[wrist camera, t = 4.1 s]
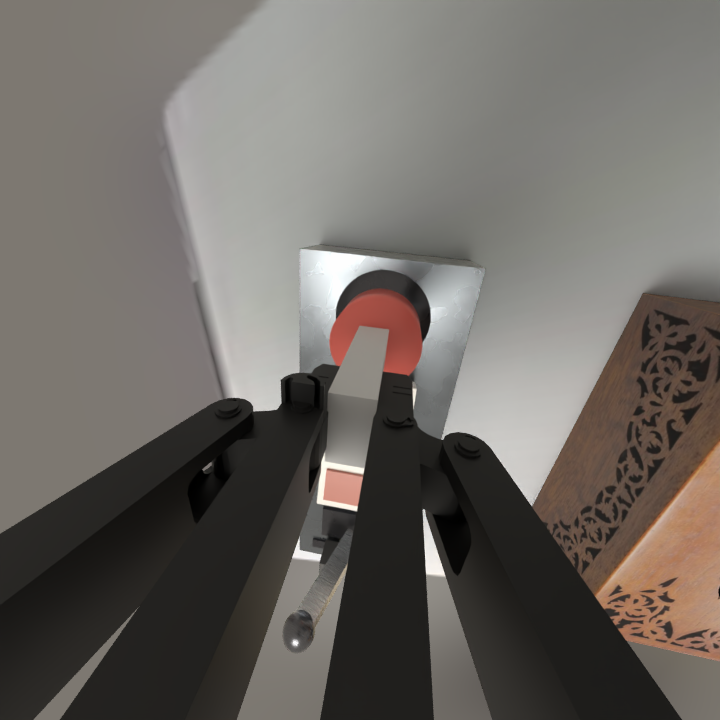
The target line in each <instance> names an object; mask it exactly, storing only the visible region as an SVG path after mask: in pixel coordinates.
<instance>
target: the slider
mask: <svg viewBox="0 0 720 720" xmlns="http://www.w3.org/2000/svg"><path fill="white" fill-rule="evenodd" d="M338 544H339V542H335V541H330V540H326V541H325V544H324V548H323V552H322V556H321V560H320V565H319V566H320V567H319V568H320V569H319V574H320V572H321V571H322V569H323V567H324V566H325V564H326V563H327V561H328V559H329V558H330V556H331V555H332V553H333V552H334V550H335V548H336V547H337V545H338Z"/></svg>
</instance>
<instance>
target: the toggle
mask: <svg viewBox="0 0 720 720" xmlns="http://www.w3.org/2000/svg"><path fill="white" fill-rule="evenodd" d="M352 536H353V531H352V530H350V529H347V531H346V532H345V534H344V536H343V537H342V539H341V540H340V542H339V544H338V545H337V547H336V548H335V550H334V552H333V553H332V555H331V556H330V558H329V559H328V561H327V563H326V564H325V566H324V567H323V569H322V571H321V572H320V574H319V576H318V577H317V579H316V580H315V582H314V583H313V585H312V587H311V589H310V590H309V592H308V593H307V595H306V596H305V598H304V599H303V601H302V602H301V604H300V606H299V607H298V609H297V610H296V611H295V612H293V613H292V614H291V615H290V616H289V617H288V618H287V620H286V621H285V624H284V627H283V634H282V637H283V642H284V645H285V647H286V648H287V650H289V651H290V652H292V653H295V654H298V653H301V652H304V651H305V650H306V649H307V648H308V647H309V646H310V645H311V643H312V641H313V638H314V635H315V627H316V625H317V624H318V622H319V620H320V618H321V616H322V615H323V613H324V611H325V609H326V607H327V605H328V604H329V602H330V600H331V598H332V596H333V594H334V593H335V591H336V589H337V587H338V585H339V584H340V582H341V580H342V578H343V576H344V575H345V573H346V570H347V565H348V559H349V553H350V547H351V542H352Z"/></svg>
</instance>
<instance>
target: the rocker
mask: <svg viewBox="0 0 720 720" xmlns="http://www.w3.org/2000/svg"><path fill="white" fill-rule="evenodd" d="M412 387H413V389H412V390H413V409H414V403H415V397H416V391H417V388H416V384H415V382H412ZM363 474H364V468H359V467H354V466H348V465H342V464H337V463H331V462H325V453H324V456H323V458H322V461H321V474H320V477H319V487H318V496H317V504H322V505H328V506H333V507H338V508H343V509H348V510H353V511H357V508H358V502H359V496H360V491H361V485H362V479H363Z"/></svg>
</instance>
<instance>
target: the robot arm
mask: <svg viewBox="0 0 720 720" xmlns="http://www.w3.org/2000/svg"><path fill="white" fill-rule="evenodd" d="M388 335H389V329H382V328H374V327H367V326H359V328H358V330H357V332H356V334H355V336H354V338H353V341H352V343H351V345H350V347H349V349H348V351H347V353H346V355H345V357H344V360H343V362H342V364H341V366H336V365H329V364H321V365H320V366H318V367H316V368H314V370H313V371H312V373H311V374H310V373H295V374H291V375H288V376H285V377H284V378H283V379H282V380H281V399H282V404H281V405H280V406H279V408H278V409H277V410H272V411H256V412H253V406H252V404H251V403H250V402H249V401H247V400H245V399H240V398H227V399H223V400H219V401H217V402H215V403H213V404H211V405H209V406H207V407H206V408H204V409H202V410H201V411H199V412H198V413H196V414H194V415H193V416H191V417H189V418H188V419H186V420H185V421H183V422H181V423H180V424H178V425H176V426H175V427H173V428H172V429H170V430H169V431H167V432H165V433H164V434H162V435H160V436H159V437H157V438H155V439H154V440H152V441H151V442H149V443H147V444H146V445H144V446H142V447H141V448H139V449H137V450H136V451H134V452H133V453H131V454H129V455H128V456H126V457H125V458H123V459H121V460H120V461H118V462H117V463H115V464H113V465H111V466H110V467H108V468H107V469H105V470H103V471H102V472H100V473H98V474H97V475H95V476H94V477H92V478H90V479H89V480H87V481H86V482H84V483H82V484H81V485H79V486H77V487H76V488H74V489H72V490H71V491H69V492H68V493H66V494H64V495H63V496H61V497H59V498H58V499H56V500H55V501H53V502H51V503H50V504H48V505H46V506H45V507H43V508H42V509H40V510H38V511H37V512H35V513H33V514H32V515H30V516H29V517H27V518H25V519H24V520H22V521H20V522H19V523H17V524H16V525H14V526H12V527H11V528H9V529H7V530H6V531H4V532H2V533H1V534H0V720H33V719H34V718H35V717H36V716H37V715H38V714H39V713H40V712H41V711H42V710H43V709H44V708H45V707H46V705H47V704H48V703H49V702H50V701H51V700H52V699H53V698H54V697H55V696H56V695H57V693H59V692H60V690H61V689H62V688H63V687H64V686H65V685H66V684H67V683H68V682H69V681H70V680H71V679H72V677H73V676H74V675H75V674H76V673H77V672H78V671H79V670H80V669H81V668H82V667H83V666H84V665H85V664H86V663H87V662H88V660H89V659H90V658H91V657H92V656H93V655H94V654H95V653H96V652H97V651H98V650H99V648H101V647H102V646H103V644H104V643H105V642H106V641H107V640H108V639H109V638H110V637H111V636H112V635H113V634H114V633H115V632H116V631H117V629H118V628H119V627H120V626H121V625H122V624H123V623H124V622H125V621H126V620H127V619H128V618H129V617H130V616H131V614H132V613H133V612H134V611H135V610H136V609H137V608H138V607H139V608H138V609H137V611H136V612H135V613H134V615H133V616H132V618H131V619H130V621H129V622H128V623H127V625H126V627H125V628H124V629H123V630H122V632H121V633H120V635H119V636H118V638H117V639H116V641H115V642H114V643H113V645H112V646H111V648H110V649H109V651H108V652H107V653H106V655H105V656H104V658H103V659H102V661H101V662H100V663H99V665H98V667H97V668H96V669H95V670H94V672H93V673H92V675H91V676H90V678H89V679H88V680H87V682H86V683H85V685H84V686H83V688H82V689H81V690H80V692H79V693H78V695H77V696H76V698H75V699H74V700H73V702H72V703H71V705H70V706H69V708H68V709H67V710H66V712H65V713H64V715H63V716H62V718H61V719H60V720H237V717H238V714H239V711H240V708H241V705H242V702H243V699H244V696H245V694H246V690H247V688H248V685H249V682H250V679H251V676H252V673H253V670H254V667H255V664H256V661H257V658H258V656H259V653H260V650H261V647H262V643H263V641H264V638H265V635H266V632H267V629H268V626H269V623H270V620H271V618H272V615H273V612H274V609H275V606H276V603H277V600H278V597H279V594H280V591H281V588H282V585H283V582H284V580H285V576H286V574H287V571H288V568H289V565H290V562H291V559H292V556H293V553H294V550H295V547H296V544H297V542H298V539H299V536H300V533H301V530H302V527H303V524H304V521H305V518H306V515H307V512H308V509H309V506H310V504H311V501H312V498H313V495H314V492H315V489H316V486H317V483H318V480H319V477H320V474H321V461H322V458H323V456H324V453H325V462H331V463H337V464H342V465H348V466H354V467H359V468H364V474H363V479H362V485H361V491H360V496H359V502H358V508H357V513H356V519H355V525H354V530H353V536H352V542H351V547H350V553H349V559H348V565H347V570H346V576H345V582H344V587H343V593H342V599H341V604H340V610H339V616H338V621H337V627H336V633H335V639H334V645H333V650H332V655H331V661H330V667H329V672H328V678H327V684H326V689H325V695H324V701H323V707H322V712H321V718H320V720H434V717H433V716H434V715H433V698H432V678H431V660H430V642H429V623H428V607H427V606H428V605H427V589H426V568H425V550H424V532H423V513H422V508H423V509H425V512H426V517H427V520H428V523H429V526H430V529H431V532H432V536H433V539H434V542H435V545H436V548H437V551H438V554H439V557H440V560H441V563H442V566H443V569H444V572H445V575H446V579H447V581H448V585H449V588H450V591H451V594H452V597H453V600H454V603H455V606H456V609H457V612H458V615H459V618H460V622H461V624H462V627H463V631H464V634H465V637H466V640H467V643H468V646H469V649H470V652H471V655H472V658H473V661H474V664H475V668H476V671H477V674H478V677H479V680H480V683H481V686H482V689H483V692H484V695H485V698H486V701H487V704H488V707H489V710H490V714H491V717H492V720H682V719H681V718H680V717H679V715H678V714H677V712H676V711H675V709H674V708H673V706H672V705H671V704H670V702H669V701H668V699H667V698H666V696H665V695H664V694H663V692H662V691H661V689H660V688H659V687H658V685H657V684H656V682H655V681H654V679H653V678H652V677H651V675H650V674H649V672H648V671H647V670H646V668H645V667H644V665H643V664H642V662H641V661H640V660H639V658H638V657H637V655H636V654H635V652H634V651H633V650H632V648H631V647H630V645H629V644H628V643H627V641H626V640H625V638H624V637H623V635H622V634H621V633H620V631H619V630H618V628H617V627H616V625H615V624H614V623H613V621H612V620H611V618H610V617H609V616H608V614H607V613H606V611H605V610H604V608H603V607H602V606H601V604H600V603H599V601H598V600H597V599H596V597H595V596H594V594H593V593H592V591H591V590H590V589H589V587H588V586H587V584H586V583H585V581H584V580H583V579H582V577H581V576H580V574H579V573H578V572H577V570H576V569H575V567H574V566H573V564H572V563H571V562H570V560H569V559H568V557H567V556H566V555H565V553H564V552H563V550H562V549H561V547H560V546H559V545H558V543H557V542H556V540H555V539H554V537H553V536H552V535H551V533H550V532H549V530H548V529H547V528H546V526H545V525H544V523H543V522H542V520H541V519H540V518H539V516H538V515H537V513H536V512H535V511H534V509H533V508H532V506H531V505H530V503H529V502H528V501H527V499H526V498H525V496H524V495H523V493H522V492H521V491H520V489H519V488H518V486H517V485H516V484H515V482H514V481H513V479H512V478H511V476H510V475H509V474H508V472H507V471H506V469H505V468H504V467H503V465H502V464H501V462H500V461H499V459H498V458H497V457H496V455H495V454H494V452H493V451H492V449H491V448H490V447H489V446H488V445H487V444H486V443H485V442H484V441H482V440H481V439H479V438H477V437H475V436H473V435H470V434H467V433H460V432H456V433H450V434H448V435H447V436H445V438H444V440H441V439H438V438H435V437H433V436H431V435H429V434H427V433H425V432H424V431H422V430H421V429H420V428H419V427H418V424H417V422H416V419H415V418H414V411H413V390H412V389H413V387H412V381H411V379H410V378H409V377H408V376H407V375H404V374H397V373H391V372H384V364H385V357H386V349H387V342H388ZM210 462H212V466H210V467H209V468H208V469H206V470H205V471H203V470H202V469H203V468H204V467H205V466H207V465H208V464H209V463H210Z"/></svg>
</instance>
